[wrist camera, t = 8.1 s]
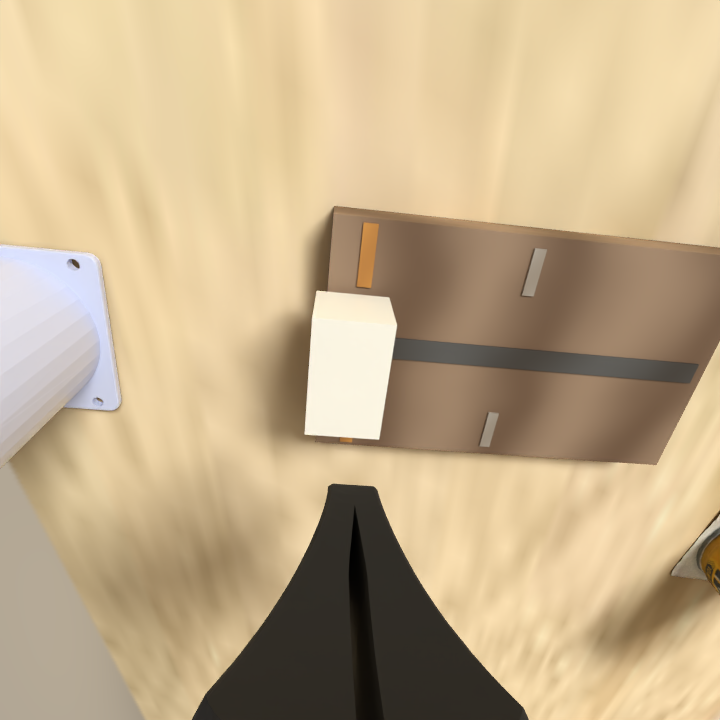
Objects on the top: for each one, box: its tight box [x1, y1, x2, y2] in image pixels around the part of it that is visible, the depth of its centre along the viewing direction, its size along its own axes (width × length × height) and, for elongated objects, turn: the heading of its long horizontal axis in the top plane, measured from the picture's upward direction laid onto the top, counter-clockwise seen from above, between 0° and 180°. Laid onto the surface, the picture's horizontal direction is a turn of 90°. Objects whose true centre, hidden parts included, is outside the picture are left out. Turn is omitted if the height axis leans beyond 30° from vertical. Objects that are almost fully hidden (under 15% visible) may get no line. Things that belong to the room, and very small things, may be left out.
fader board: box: [315, 206, 720, 465], centre depth 22 cm, size 18×11×2 cm, turn 84°
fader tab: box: [305, 291, 397, 440], centre depth 18 cm, size 3×5×3 cm, turn 174°
